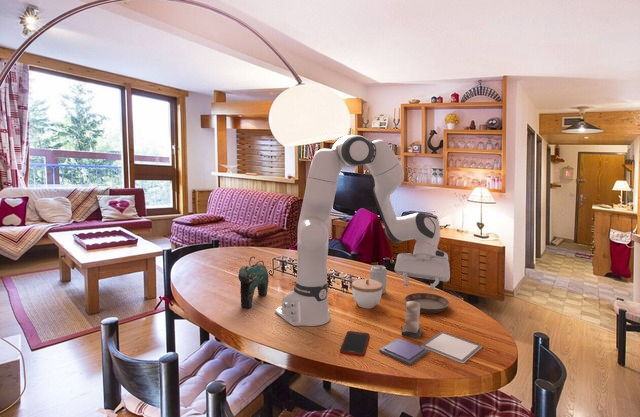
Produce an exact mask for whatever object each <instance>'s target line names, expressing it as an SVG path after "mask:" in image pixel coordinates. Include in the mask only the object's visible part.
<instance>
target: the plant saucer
mask: <svg viewBox="0 0 640 417" xmlns="http://www.w3.org/2000/svg"><path fill="white" fill-rule="evenodd" d="M404 300H405V303H406V304H407V302H408V301H416V302H419V303H420V313H423V312H424V314H438V313H442V312H444V311H445V310H446V309H447V308H448V306H449V305H450V301H449V300H448V299H447V298H446V297H443V296H441V295H439V294H434V293H428V292H414V293H410V294H407V295H406V296H405V297H404Z"/></svg>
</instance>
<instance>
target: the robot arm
mask: <svg viewBox="0 0 640 417" xmlns="http://www.w3.org/2000/svg"><path fill="white" fill-rule="evenodd" d="M364 165H365V166H366V167H367V169H369V172H370V174H371V175H372V178H373V180H374V187H373V189H372V190H373V196H374V200H375V203H376V205H377V208H378V211H379V214H380V216H381V217H380V218H382V219H381V220H382V222H383V225H384V231H385V235H386V236H387V238H388V239H389V240H390V241H391V242H393V243H395V244H399V243H402V242H406V241H409V240H415V244H414V248H413V251H412V252H413V253H411V252H410V253H407V252H401V253H398V254H397V255H396V263H395V265H394V267H393V268H394V272H395V274H396V275H398V276H402V278H403V280H404V281H403V286H404V287H409V284H410V280H408V279H407V278H408V277H413V278H418V279H419V278H420V279H426V280H433V283H430V286H429V290H430V291H435V288H436V287H437V285H439V283H440V282H445V283H447V282H449V281H450V280H451V279H450V278H451V269H450V268H451V267H450V263H449V255H448V253H447V252H445V251H443V250H440V249H439V248H438V245H439V243H440V238H441V225H440V223H439V221H438V220H437V219H436V218H434V217H432V216H431V217H430V216H428V215H427V214H426V213H425V212H415V213H411V214H408V215H403V216H397V215H396V214H395V211H394V209H393V205H392V203H391V199H390V198H391V195H392V194H393V193H395V191H396V190H398V188H400V186H401V184H402V183H403V182H404V179H405V171H404V169H403V167H402V164H401V163H400V161H399V159H398V157H397V155H396V153H395V152H394V150H393V148H391V146H390V145H389V144H388V143H387V142H386V141H385V140H382V139H375V140H373V141H370V139H367V138H366V137H364V136H362V135H359V134H346V135H343V136H339V138H337V139H336V140H335V141H334V143H333V144H332V145H331V146H330V147H329V148H320V149H319V150H317V151H316V152H315V153H314V155H313V158H312V160H311V164H310V167H309V170H308V174H307V177H306V178H307V179H306V184H305V189H304V195H303V199H302V205H301V209H300V214H299V219H298V223H297V250H296V251H297V260H296V262H297V263H296V264H297V269H296V273H297V274H296V281H292V286H294V287H293V289H292V290H291V291H290V292H288V293H287V294H285V295H284V296H283V297H282V300H281V305H280V306H278V307H277V308H276V309H275V310H274V312H275V313H276V315H278V316H279V317H280V318H282V319H283V320H285V321H286V322H287V323H289V324H290V325H291V326H294V327H298V326H299V327H300V326H303V327H304V326H306V327H317V326H323V325H325V324H326V323H328V322H330V321H331V315H330V313H331V312H330V308H329V298H328V292H329V288H328V287H329V284H328V281H327V280H328V279H327V278H328V276H327V274H328V257H329V256H328V253H329V241H330V240H329V239H330V238H329V237H330V235H329V234H330V233H329V228H328V224H329V221H330V220H329V219H330V216H331V213H332V210H333V205H334V202H335V197H336V192H337V187H338V182H339V177H340V172H342V169H343V168H344V167H345V166H346V167H347V166H349V167H360V166H364Z"/></svg>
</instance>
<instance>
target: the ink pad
mask: <svg viewBox="0 0 640 417" xmlns="http://www.w3.org/2000/svg"><path fill="white" fill-rule="evenodd" d="M378 351H379V353H382V354H384V355H386V356H388V357H390V358H393V359H395V360H397V361H399V362H402V363H404V364H406V365H408V366H412V364H414V363H415V362H417V361H418V360H420V359H421V358H422V357H424V356H425V355H427V354H428V353H429V351H430V350H428V349H426V348H423V347H421V345H418V344H415V343H412V342H410V341H407V340H405V339H403V338H400V337H398V338H396V339H395V340H392V341H391V342H389V343H388V344H386V345H384V346H382V347H380V348H379V349H378Z"/></svg>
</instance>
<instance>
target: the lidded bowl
mask: <svg viewBox="0 0 640 417" xmlns="http://www.w3.org/2000/svg"><path fill="white" fill-rule="evenodd" d="M351 287H352V288H351V293H352V297H353V298H352V299H353V300H354V302H355V303H356V304H357V306H359V307H360V308H362V309H372V308H375V307H376V305H377V304H379V302H380V301H381V298H382V295H383V294H382V288H383V285H382V283H380V282H378V281H375V280H370V278H362V279H356V280H353V281H352V283H351Z"/></svg>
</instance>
